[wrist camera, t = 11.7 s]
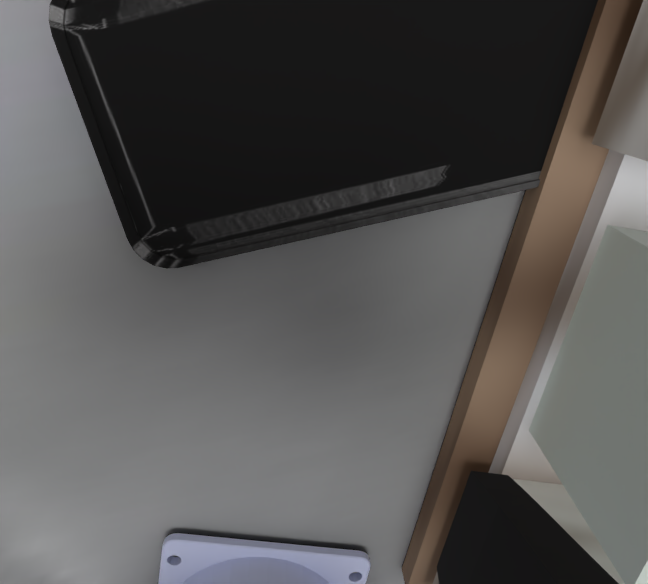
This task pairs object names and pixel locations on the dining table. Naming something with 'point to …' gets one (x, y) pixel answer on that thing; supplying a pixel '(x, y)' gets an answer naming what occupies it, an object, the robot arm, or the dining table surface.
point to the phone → (311, 110)
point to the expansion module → (605, 403)
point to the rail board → (548, 285)
